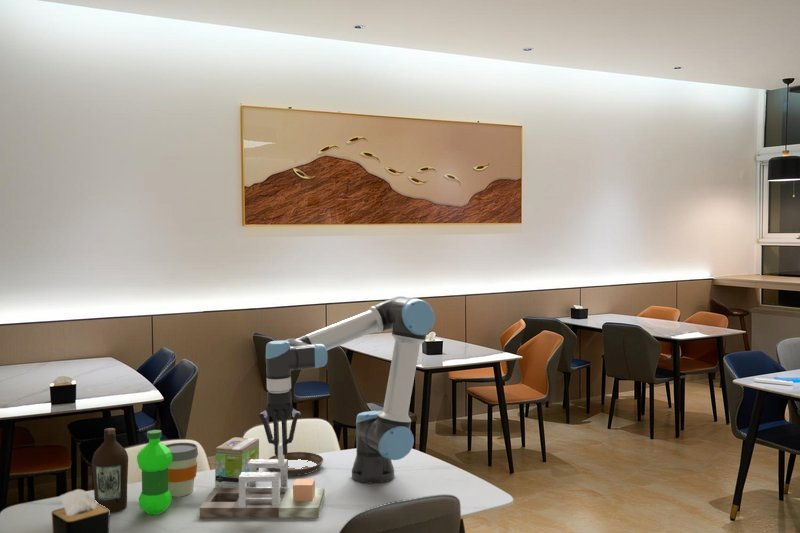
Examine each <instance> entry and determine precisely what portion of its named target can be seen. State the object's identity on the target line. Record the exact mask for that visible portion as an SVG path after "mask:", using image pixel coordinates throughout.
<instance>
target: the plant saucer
mask: <svg viewBox="0 0 800 533" xmlns="http://www.w3.org/2000/svg"><path fill="white" fill-rule="evenodd" d="M268 459H278V455H275V454H274V455H273V456H270V457H269V458H268ZM284 459H287V461H288V460H298V459H301V460H308V461H312V462H314V463H316V464H317V465H316V466H313V467H308V466H305V467H302V468H303V469H302V468H301V469H295V468H288V476H299V475H298V474H302V475H306V474H305V473H307V474H310V473H309V472H311V473H313V472H315V471H317V470H318V469H319V468H320V467H321V465H322V464H323V462H324V457H323V456H321V455H320V454H318V453H313V452H306V451H291V452H287V454H286V455H284ZM308 461H307V462H308ZM288 467H289V466H288ZM269 469H270V470H271V471H272V472H280V468H269ZM316 469H317V470H316ZM312 471H313V472H312Z"/></svg>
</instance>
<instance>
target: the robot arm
mask: <svg viewBox="0 0 800 533" xmlns="http://www.w3.org/2000/svg"><path fill="white" fill-rule="evenodd" d="M435 322H436V315H435V311H434V309H433V308H432V306H431V304H430V303H428V302H427V301H425V300H422V299H419V298H417V297H415V298H414V297H406V296H396V297H392V298H389V299H386V300H384V301H381V302H379V303H376V304H374V305H372V306H369V308H368V310H367V311H364V312H361V313H359V314H357V315H354V316H351V317H349V318H346V319H343V320H341V321H338V322H337V323H333V324H330V325H329V326H328V325H327V326H326V327H323V328H321V329H318V330H315V331H313V332H310V333H307V334H305V335H302V336H300V337H298V338H287V339H285V340H282V339H281V340H272V341H269V342H267V343H266V345H265V357H264V358H265V364H266V365H265V366H266V367H265V368H266V390H267V393H266V398H267V400H266V403H267V404H266V407H265V410H264V411H261V412H260V413H259V415H258V418H260V420H261V421H262V425H263V428H264V432H265V436H266V438H267V442H268V444H272V445H273V446H274V456H275V455H278V466H284V455H286V454H287V453H288V444H292V442H293V440H294V436H295V433H296V426H297V423H298V419H299V418H300V415H301V411H299V410H298V411H297V409H295V408H294V406H293V402H292V400H293V399H292V391H291V389H292V373H291V372H292V371H296V370H298V371H299V370H309V369H317V368H323V367H325V366H326V365H327V363H328V359H329V358H328V351H329V350H331V349H334V348H336V347H339V346H341V345H344V344H347V343H349V342H353V341H354V340H357V339H359V338H361V337H364V336H367V335H368V334H372V333H375V332H377V333H381V332H385V331H388V330H392V332H391V336H392V337H393V339H394V346H393V351H392V357H391V363H390V367H389V373H388V374H389V375H388V380H387V384H386V391H385V397H384V402H383V408H382V410H370V411H363V412H359V413H358V414H357V415H356V420H355V421H356V422H355V427H356V428H355V433H356V434H355V438H356V442H355V443H356V444H355V445H356V453H355V454H356V455H355V459H354V462H353V464H352V468H351V478H352V479H353V480H355V481H356V482H360V483H365V484H377V483H384V482H389V481H391V480H393V479H394V478H395V468H394V464H393V463H392V462H393V461H398V460H402V459H403V458H405V457H406V456H408V455H409V454H410V453H411V451H412V449H413V447H414V442H415V439H414V438H415V437H414V434H413V433H412V430H411V425H412V419H411V417H410V416H409V410H410V406H411V405H410V404H411V399H412V398H411V397H412V393H413V387H414V382H415V381H414V380H415V376H416V372H417V371H416V369H417V364H418V360H419V358H418V357H419V352H420V347H421V344H423V343H424V342H426V339H427V334H428V333H429V332H431V330H432V329H433V328H434V326H435ZM291 414H292V415H291ZM268 416H269V417H270V418H271V419H272V425H273V433H272V430H271V425H270V423H269V422H270V421H269V419H268ZM290 416H292V418H293V419H291V420H292V421H291V425H290V430H289V434H288V423H287V422H288V419H289V417H290ZM280 421H281V422H280ZM279 422H280V423H281V440H282V441H281V442H280V428H279V426H280V424H279ZM392 460H393V461H392Z"/></svg>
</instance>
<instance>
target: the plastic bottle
mask: <svg viewBox="0 0 800 533" xmlns="http://www.w3.org/2000/svg"><path fill="white" fill-rule="evenodd" d="M146 438H147V440H148V443H147V444H145V446H144V447H142V448H141V449H140V450H139V451H138V454H137V456H136V461H137V466H138V468H139V469H140V470H141V492H140V495H139V497H138V504H139V506H140V508H141V510H142V511H144V512H145V513H146V514H147V515H151V516H155V515H160V514H162V513H163V512H165V511H166V510H167V509H168V508H169V507H170V505H171V504H172V499H173V497H172V496H171V494H170V492H169V490H168V467H169V466H170V465H171V463H172V454H171V451H170V449H169V448H168V447H166V446H165V445H166V444H164V443H162V442H161V438H162V430H161V429H152V430H151V429H150V430H148V431H146Z"/></svg>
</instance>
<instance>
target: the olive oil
mask: <svg viewBox="0 0 800 533" xmlns="http://www.w3.org/2000/svg"><path fill="white" fill-rule="evenodd" d="M103 432H104V433H103V442H102V443H101V445H100V446H99V447H98V448H97V449H96V450H95V451H94V453H93V456H92V459H91V468H92V478H93V482H92V483H93V495H94V496H93V497H94V501H95V500H96V501H97V502H98V503H99V504H101V505H103V506H105V507H106V508H108V509H109V510H110V513H109V514H112V513H118V512H121V511H123V510H125V509H126V508H127V506H128V478H129V477H128V476H129V454H128V451H127V450H126V449H125V448H124V447H123V446H122V445H121V444H120V443H119V442H118V441H117V439H116V435H117V434H116V428H114V427H109V428H105V429H104V431H103ZM120 510H121V511H120ZM117 511H118V512H117Z"/></svg>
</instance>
